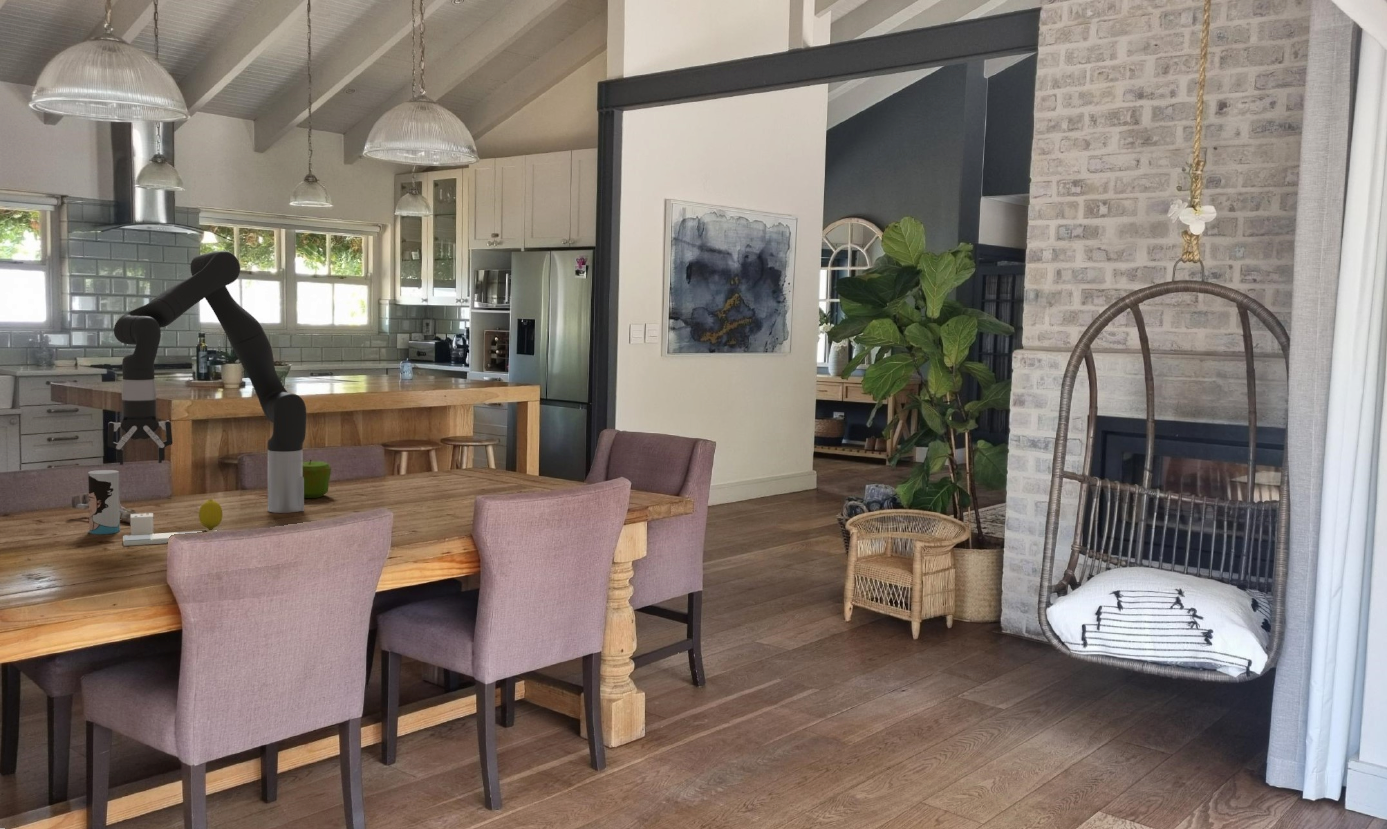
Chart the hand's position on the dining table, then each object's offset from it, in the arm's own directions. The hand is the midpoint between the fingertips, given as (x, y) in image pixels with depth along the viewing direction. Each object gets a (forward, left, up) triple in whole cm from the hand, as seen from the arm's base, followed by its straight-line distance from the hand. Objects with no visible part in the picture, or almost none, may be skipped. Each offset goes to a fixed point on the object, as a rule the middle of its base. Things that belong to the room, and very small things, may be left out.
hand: (140, 463), depth 278 cm
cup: (+8, -7, -18) cm, 21 cm away
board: (-8, +9, -18) cm, 21 cm away
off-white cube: (0, 0, -18) cm, 18 cm away
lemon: (-16, -1, -18) cm, 24 cm away
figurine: (+7, -23, -18) cm, 31 cm away
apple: (-47, -46, -18) cm, 68 cm away
